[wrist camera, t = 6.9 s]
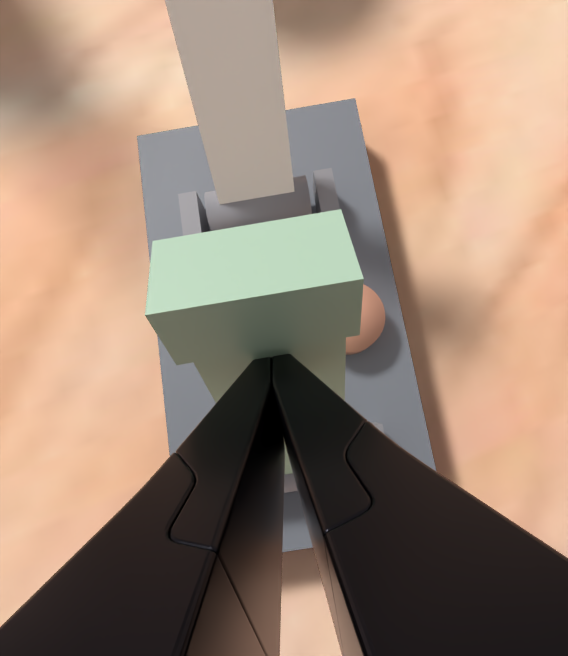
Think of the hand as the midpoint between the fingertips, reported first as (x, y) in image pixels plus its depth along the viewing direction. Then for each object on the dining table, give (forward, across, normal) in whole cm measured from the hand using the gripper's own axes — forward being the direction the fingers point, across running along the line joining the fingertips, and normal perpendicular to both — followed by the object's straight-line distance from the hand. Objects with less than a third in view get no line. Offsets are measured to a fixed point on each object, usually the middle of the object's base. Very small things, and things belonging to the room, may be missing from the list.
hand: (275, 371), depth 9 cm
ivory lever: (+11, 0, 0) cm, 11 cm away
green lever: (+4, 0, -9) cm, 9 cm away
